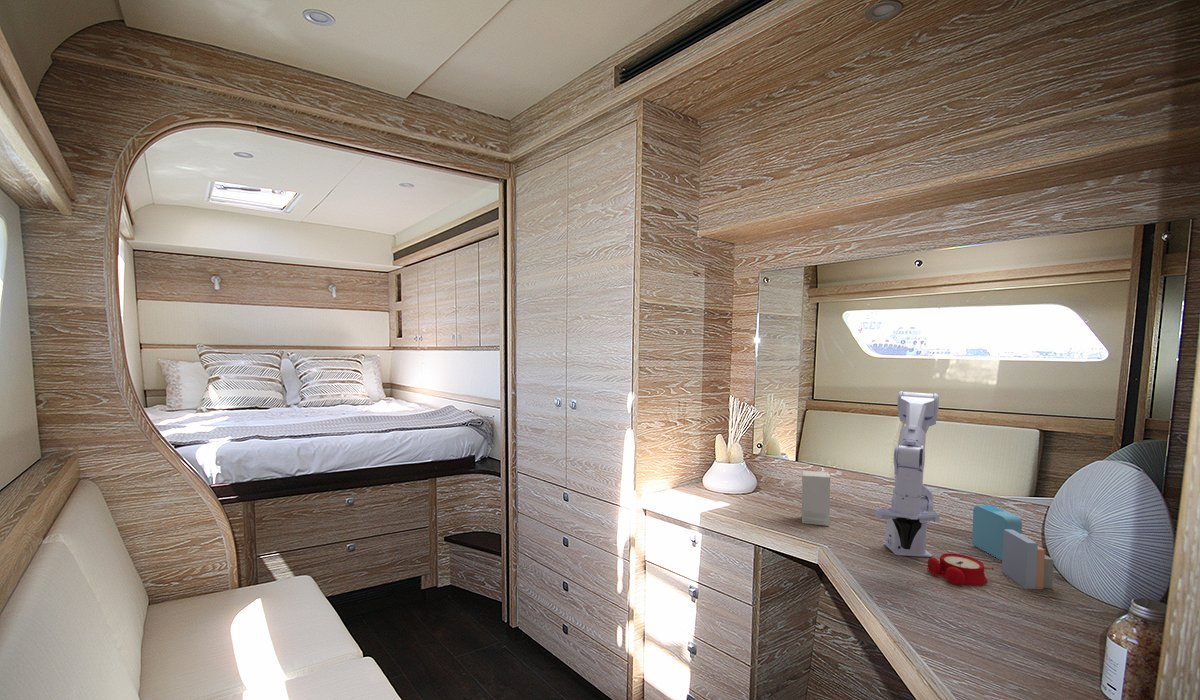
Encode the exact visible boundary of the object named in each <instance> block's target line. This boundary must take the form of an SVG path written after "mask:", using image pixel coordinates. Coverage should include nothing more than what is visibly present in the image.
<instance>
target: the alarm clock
mask: <svg viewBox="0 0 1200 700" xmlns="http://www.w3.org/2000/svg"><path fill="white" fill-rule="evenodd" d="M985 569H986V570H993V571H994V570H995V569H994V567H987V566H986V567H985V565H984V563H983V562H982V561H980V560H979V559H976V558H974V557H971V556H968V555H965V554H959V553H950V552H949V553H943V554H941V555H940V557H939V560H938V559H937V558H936V557H929V558H928V559H927V567H926V570H927V571H928V572H929V573H930V574H931V575H933V576H935V575H936V577H941V578H944V579H945V580H947V582H948V583H949V584H951V585H952V586H957V587H958V586H962V585H965V586H966V585H967V586H983V585H986V584H987V582H988V579H987V577H986V574H985Z"/></svg>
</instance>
